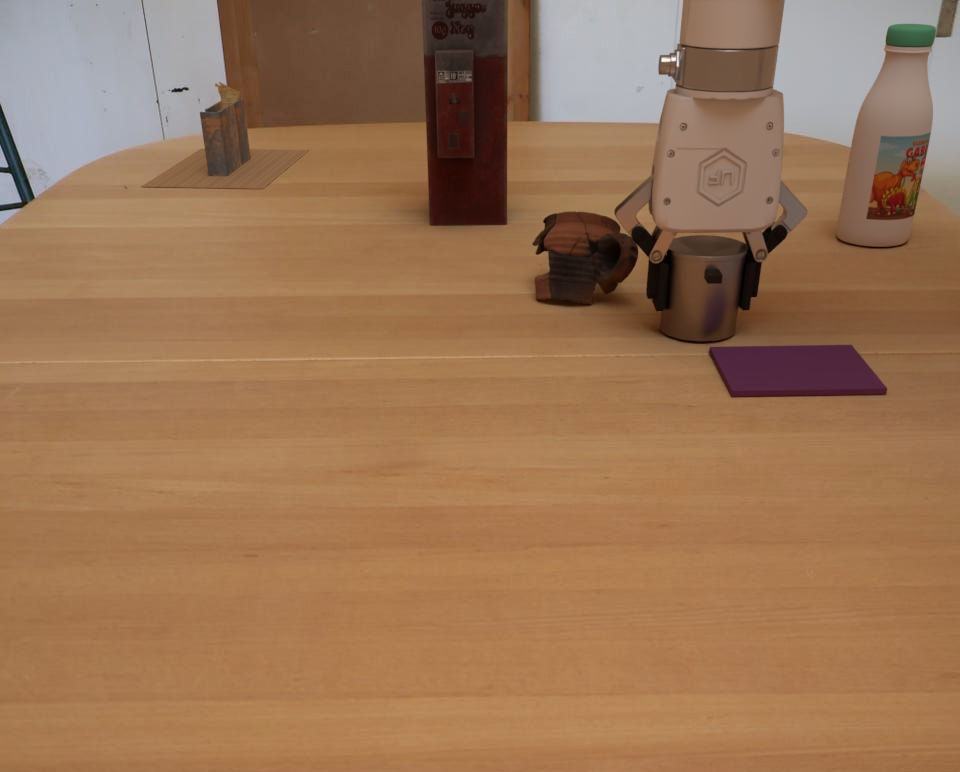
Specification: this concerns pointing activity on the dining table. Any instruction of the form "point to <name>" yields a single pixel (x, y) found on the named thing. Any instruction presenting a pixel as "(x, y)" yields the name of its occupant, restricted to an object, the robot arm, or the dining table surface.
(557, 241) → the pottery mug
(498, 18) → the toy vending machine
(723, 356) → the flat purple board
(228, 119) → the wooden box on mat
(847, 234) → the milk bottle
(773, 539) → the dining table surface
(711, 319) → the pot
